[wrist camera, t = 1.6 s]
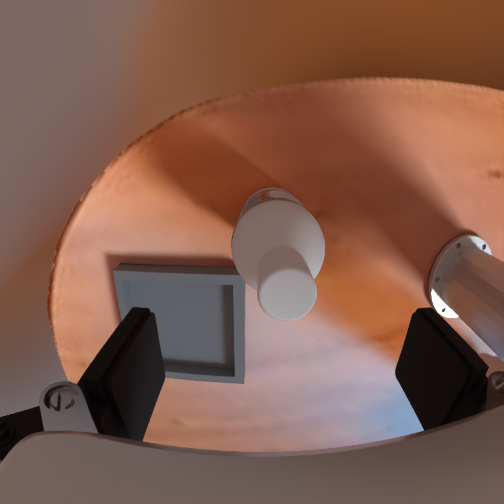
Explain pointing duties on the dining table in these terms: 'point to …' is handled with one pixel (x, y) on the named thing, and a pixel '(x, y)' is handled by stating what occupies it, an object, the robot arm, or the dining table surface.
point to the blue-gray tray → (191, 317)
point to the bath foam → (279, 252)
